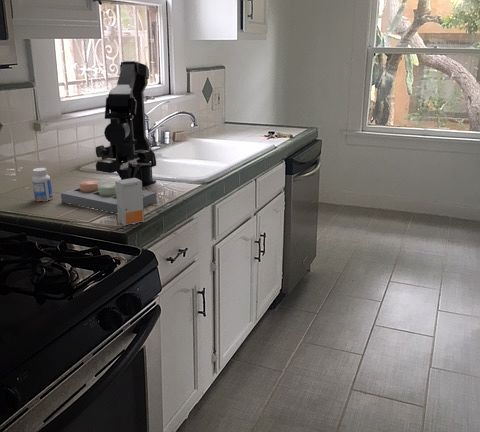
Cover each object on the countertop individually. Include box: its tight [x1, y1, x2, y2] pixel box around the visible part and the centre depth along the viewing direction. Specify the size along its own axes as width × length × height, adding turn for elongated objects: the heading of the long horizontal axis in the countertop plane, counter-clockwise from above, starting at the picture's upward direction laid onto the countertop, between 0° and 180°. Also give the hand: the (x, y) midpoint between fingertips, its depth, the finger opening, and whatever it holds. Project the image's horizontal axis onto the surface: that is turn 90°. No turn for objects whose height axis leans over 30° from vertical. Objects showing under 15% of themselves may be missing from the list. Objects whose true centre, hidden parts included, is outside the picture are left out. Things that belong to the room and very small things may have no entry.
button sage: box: [98, 183, 116, 197], centre depth 163 cm, size 6×6×3 cm
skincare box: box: [114, 178, 145, 226], centre depth 145 cm, size 6×4×12 cm
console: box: [60, 181, 157, 214], centre depth 164 cm, size 15×25×3 cm, turn 59°
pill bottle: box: [31, 167, 54, 202], centre depth 166 cm, size 6×5×10 cm
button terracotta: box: [79, 180, 99, 194], centre depth 167 cm, size 6×6×3 cm
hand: (127, 189), depth 158 cm, fingers closed
